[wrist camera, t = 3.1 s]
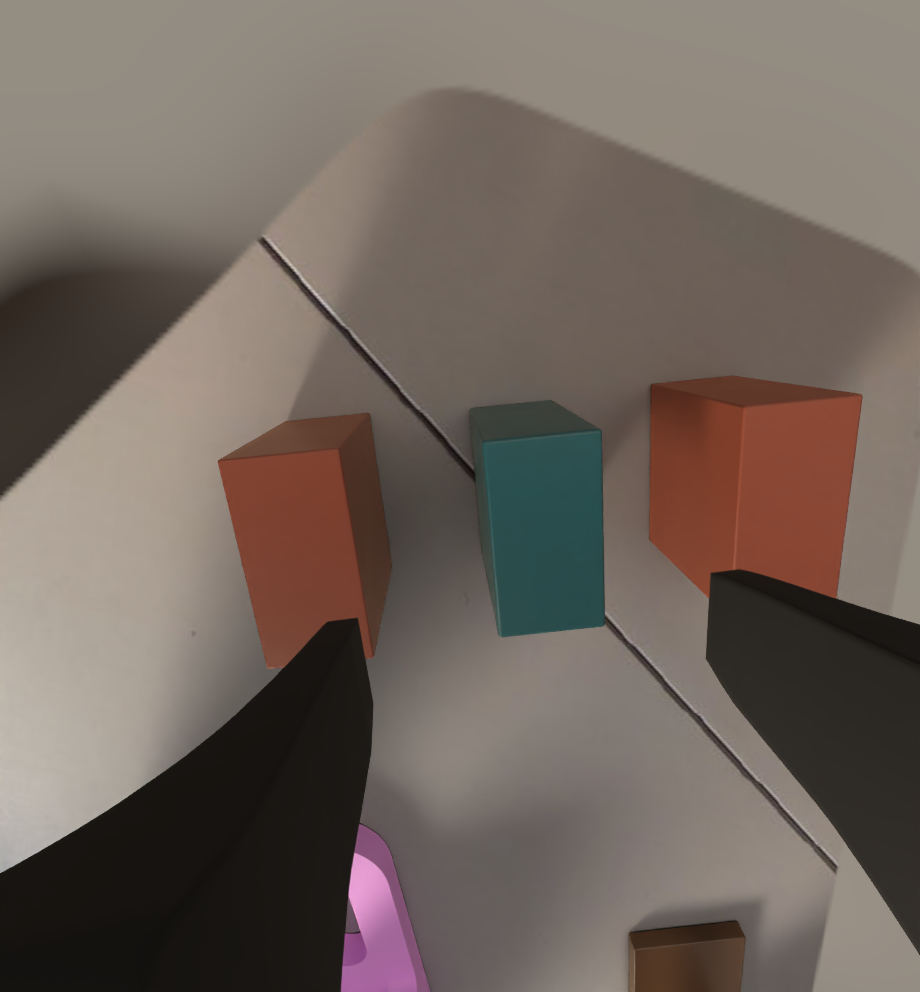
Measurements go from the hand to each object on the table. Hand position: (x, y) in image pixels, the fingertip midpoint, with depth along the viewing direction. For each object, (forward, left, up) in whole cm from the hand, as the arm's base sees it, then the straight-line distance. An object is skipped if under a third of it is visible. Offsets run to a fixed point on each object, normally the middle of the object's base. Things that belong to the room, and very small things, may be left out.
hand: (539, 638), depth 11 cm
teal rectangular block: (-1, -1, -10) cm, 10 cm away
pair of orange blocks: (-1, -1, -10) cm, 10 cm away
